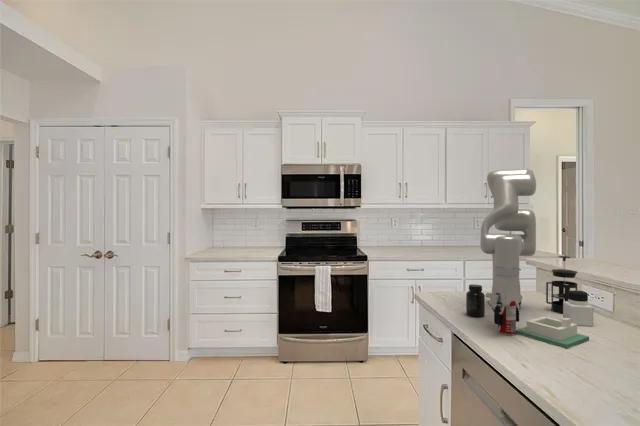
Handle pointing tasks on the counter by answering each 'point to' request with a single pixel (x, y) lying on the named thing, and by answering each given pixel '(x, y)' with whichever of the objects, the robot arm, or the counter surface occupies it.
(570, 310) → the medicine bottle
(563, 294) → the french press
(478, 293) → the supplement bottle
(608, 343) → the counter surface
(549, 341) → the board
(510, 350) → the counter surface
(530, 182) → the robot arm
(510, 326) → the soda can
